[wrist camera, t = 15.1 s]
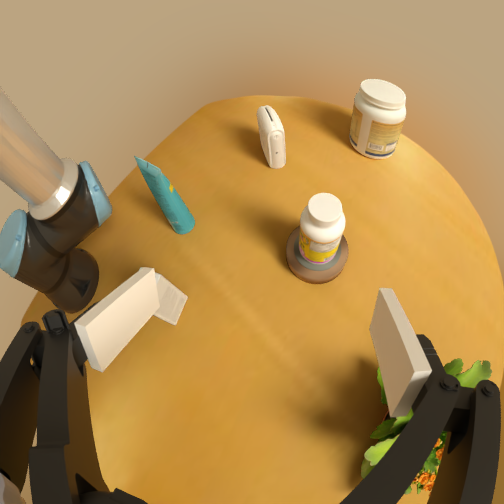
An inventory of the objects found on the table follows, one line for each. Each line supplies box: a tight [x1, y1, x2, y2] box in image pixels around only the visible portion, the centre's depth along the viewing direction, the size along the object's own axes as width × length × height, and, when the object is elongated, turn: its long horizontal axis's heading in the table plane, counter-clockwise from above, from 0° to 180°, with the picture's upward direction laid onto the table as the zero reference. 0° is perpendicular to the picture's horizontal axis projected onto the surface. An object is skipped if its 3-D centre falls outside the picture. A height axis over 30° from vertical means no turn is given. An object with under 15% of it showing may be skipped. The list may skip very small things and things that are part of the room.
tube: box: [134, 156, 195, 234], centre depth 48 cm, size 7×5×19 cm, turn 59°
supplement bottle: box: [299, 193, 345, 264], centre depth 41 cm, size 7×7×13 cm
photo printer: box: [257, 105, 286, 169], centre depth 57 cm, size 10×4×12 cm, turn 13°
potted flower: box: [361, 358, 492, 497], centre depth 27 cm, size 25×24×18 cm
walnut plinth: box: [286, 226, 348, 284], centre depth 48 cm, size 11×11×3 cm
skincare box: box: [139, 267, 188, 325], centre depth 44 cm, size 6×4×12 cm
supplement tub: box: [349, 79, 406, 159], centre depth 53 cm, size 12×12×17 cm
